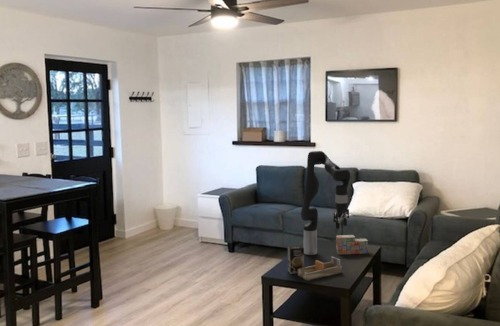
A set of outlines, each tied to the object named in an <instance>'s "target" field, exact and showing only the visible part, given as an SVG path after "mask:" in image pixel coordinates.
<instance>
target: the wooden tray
mask: <svg viewBox="0 0 500 326" xmlns="http://www.w3.org/2000/svg"><path fill="white" fill-rule="evenodd" d="M323 263H324V269H323V270H319V271H315V264H313V265H310V266H304V268H300V269H298V273H297V276H298V277H299V278H302V280H303V279H304V280H305V281H308V282H309V281H312V280H317V279H321V278H325V277H330V276H333V275H337V274H342V273H343V271H342V270H343V266H342V265H341V259H340V258H338V257H334V256H330V261H328V262H323Z"/></svg>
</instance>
